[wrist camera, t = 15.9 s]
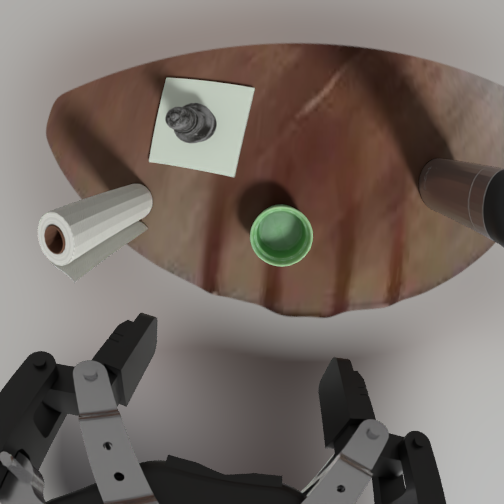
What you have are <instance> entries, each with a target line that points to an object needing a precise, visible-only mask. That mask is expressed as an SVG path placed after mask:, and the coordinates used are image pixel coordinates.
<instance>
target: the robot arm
mask: <svg viewBox="0 0 504 504" xmlns="http://www.w3.org/2000/svg"><path fill="white" fill-rule="evenodd" d="M419 190H420V195H421V198H422V200H423V201H424V203H425V204H426V205H427V206H428V207H429V208H430V209H432V210H434V211H436V212H438V213H440V214H442V215H444V216H447V217H449V218H451V219H453V220H455V221H457V222H459V223H461V224H463V225H465V226H467V227H469V228H471V229H473V230H474V231H476V232H478V233H480V234H482V235H484V236H486V237H488V238H490V239H491V240H493V241H495V242H497V243H499V244H500V245H502V246H503V247H504V169H503V168H498V167H492V166H487V165H481V164H475V163H469V162H463V161H456V160H449V159H441V158H438V159H433V160H431V161H430V162H428V163H427V164H426V165H425V166H424V168H423V170H422V172H421V175H420V179H419ZM156 343H157V318H156V317H153V316H150V315H147V314H144V313H140V314H139V315H138V317H137V318H136V319H135V321H134V322H132V321H129V320H127V321H125V322H123V323H121V324H120V325H118V326H117V328H116V329H115V330H114V332H113V333H112V334H111V335H110V337H109V339H107V340H106V342H105V343H104V345H103V346H102V347H101V348H100V350H99V351H98V352H97V353H96V355H95V356H94V358H93V359H92V360H87V361H83V362H80V363H79V364H77V365H76V366H75V367H73V366H66V365H61V364H56V362H55V359H54V357H53V356H52V355H51V354H49V353H47V352H42V351H39V352H35V353H32V354H31V355H29V356H28V357H27V359H26V360H25V361H24V363H23V364H22V365H21V366H20V367H19V369H18V370H17V371H16V372H15V374H14V375H13V376H12V377H11V379H10V380H9V381H8V383H7V384H6V385H5V386H4V388H3V389H2V391H1V392H0V503H1V504H355V503H356V502H357V500H358V499H359V497H360V496H361V494H362V492H363V491H364V489H365V488H366V486H367V484H368V482H369V481H370V479H371V478H372V483H373V492H374V502H375V504H446V501H445V497H444V492H443V488H442V484H441V479H440V476H439V472H438V468H437V465H436V461H435V457H434V454H433V451H432V448H431V444H430V441H429V439H428V438H427V436H426V435H424V434H423V433H421V432H419V431H411V432H409V433H408V434H407V435H406V436H405V437H401V436H397V435H393V434H390V433H388V430H387V428H386V426H385V425H383V424H382V423H381V422H379V421H377V420H376V419H375V415H374V412H373V408H372V405H371V401H370V398H369V396H368V391H367V389H366V385H365V382H364V379H363V378H362V376H361V375H360V374H359V373H358V371H353V368H352V364H351V361H350V360H348V359H342V358H333V359H332V360H331V362H330V364H329V366H328V367H327V369H326V371H325V373H324V375H323V377H322V379H321V381H320V384H319V399H320V406H321V414H322V423H323V431H324V440H325V448H334V450H335V454H334V455H333V456H332V457H331V458H330V459H329V461H328V462H327V463H326V464H325V466H324V467H323V468H322V469H321V470H320V472H319V473H318V474H317V475H316V476H315V478H314V479H313V480H312V481H311V482H310V483H309V484H308V485H307V486H306V487H305V488H304V489H303V490H302V491H301V492H300V491H299V490H297V489H295V488H294V487H292V486H290V485H287V484H285V483H282V476H275V475H265V474H257V473H252V474H235V475H224V474H221V473H219V472H216V471H214V470H212V469H210V468H207V467H205V466H203V465H201V464H199V463H196V462H193V461H188V460H185V459H181V458H178V457H174V456H171V455H168V457H167V460H166V461H161V460H160V461H147V462H142V463H138V460H137V458H136V455H135V453H134V450H133V448H132V445H131V443H130V440H129V438H128V435H127V432H126V429H125V427H124V424H123V421H122V418H121V415H120V412H119V411H118V409H117V406H118V404H121V405H124V406H127V405H128V402H129V401H130V399H131V397H132V395H133V393H134V391H135V389H136V387H137V385H138V383H139V381H140V380H141V378H142V376H143V374H144V372H145V370H146V368H147V366H148V364H149V363H150V361H151V359H152V357H153V355H154V353H155V349H156ZM67 414H73V415H79V423H80V427H81V432H82V436H83V440H84V444H85V448H86V451H87V455H88V458H89V462H90V465H91V468H92V471H93V475H94V477H95V480H96V483H94V484H92V485H90V486H87V487H84V488H82V489H80V490H77V491H74V492H71V493H69V494H66V495H63V496H60V497H57V498H54V499H51V500H49V501H47V502H45V500H44V496H43V489H44V479H43V476H42V474H41V473H40V472H39V468H40V466H41V464H42V462H43V460H44V458H45V456H46V454H47V452H48V450H49V447H50V446H51V444H52V442H53V440H54V438H55V436H56V434H57V432H58V430H59V428H60V426H61V424H62V423H63V421H64V419H65V417H66V415H67ZM403 474H404V480H405V485H406V489H405V485H404V480H403Z"/></svg>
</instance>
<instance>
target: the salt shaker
mask: <svg viewBox="0 0 504 504" xmlns="http://www.w3.org/2000/svg"><path fill="white" fill-rule="evenodd" d="M165 121H166V123H167V125H168V126H169V127H170V128H172V129H174V133H175V134H176V136H177V137H178V138H179V139H180V140H182V141H184V142H186V143H198V142H203V141H206V140H207V139H209V138H210V137H211V136H212V135H213V134H214V132H215V130H216V126H217V122H216V118H215V116H214V115H213V113H211V111H210V110H209V109H208V108H207V107H206V106H204V105H202V104H199V103H190V104H187V105H185V106H183V107H174V108H172V109H170V110H169V111H168V112H167V114H166V117H165Z"/></svg>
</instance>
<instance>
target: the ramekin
mask: <svg viewBox="0 0 504 504" xmlns="http://www.w3.org/2000/svg"><path fill="white" fill-rule="evenodd" d="M312 241H313V231H312V227H311V224H310V222H309V220H308V219H307V218H306V216H305V215H304V214H302V213H301V212H300V211H298V210H297V209H295V208H293V207H291V206H288V205H274V206H271V207H269V208H267V209H265V210H264V211H263V212H262V213H261V214H259V215H258V217H257V218H256V219H255V221H254V222H253V224H252V227H251V231H250V242H251V246H252V248H253V250H254V252H255V253H256V254H257V256H258V257H259V258H261V259H262V260H263V261H265V262H266V263H268V264H271V265H274V266H289V265H292V264H295V263H297V262H298V261H300V260H301V259H302V258H303V257H304V256H305V255H306V254H307V253H308V251H309V250H310V248H311V245H312Z"/></svg>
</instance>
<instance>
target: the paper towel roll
mask: <svg viewBox="0 0 504 504" xmlns="http://www.w3.org/2000/svg"><path fill="white" fill-rule="evenodd" d="M151 208H152V196H151V193H150V191H149V190H148V189H147V188H146V187H145V186H143V185H141V184H130V185H127V186H124V187H120V188H117V189H114V190H110V191H107V192H104V193H101V194H98V195H95V196H92V197H89V198H86V199H83V200H80V201H77V202H74V203H71V204H68V205H66V206H63V207H60V208H58V209H55V210H52V211H50V212H48V213H46V214H45V215H43V216H42V218H41V220H40V222H39V225H38V240H39V244H40V247H41V249H42V251H43V253H44V254H45V255H46V257H47V258H48V259H49V260H50V262H51V263H52V264H53V265H54V266H55V267H56V268H57V269H59V270H60V271H62V272H64V273H65V274H66V275H67V276H69V277H70V278H71V280H72V281H73V282H76V281H77V280H78V279H80V278H81V277H82V276H84V275H85V274H86V273H88V272H89V271H90V270H92V269H93V268H94V267H95V266H97V265H98V264H99V263H101V262H102V261H103V260H105V259H106V258H107V257H109V256H110V255H111V254H113V253H114V252H116V251H117V250H119V249H120V248H121V247H123V246H124V245H126V244H127V243H128V242H130V241H131V240H133V239H134V238H136V237H137V236H139V235H140V234H141V233H143V232H144V231H146V230H147V229H148V228H147V227H146V225H144V224H143V223H141V222H139V220H140V219H142V218H144V217H145V216H146V215H147V214H148V213H149V212H150V210H151Z"/></svg>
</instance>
